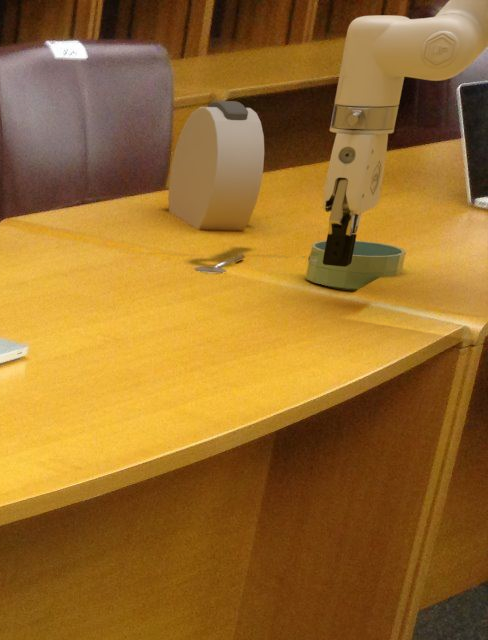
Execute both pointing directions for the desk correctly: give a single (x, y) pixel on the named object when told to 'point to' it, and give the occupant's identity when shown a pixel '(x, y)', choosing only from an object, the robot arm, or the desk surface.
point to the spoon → (219, 265)
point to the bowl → (355, 265)
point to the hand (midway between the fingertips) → (336, 264)
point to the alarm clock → (217, 167)
